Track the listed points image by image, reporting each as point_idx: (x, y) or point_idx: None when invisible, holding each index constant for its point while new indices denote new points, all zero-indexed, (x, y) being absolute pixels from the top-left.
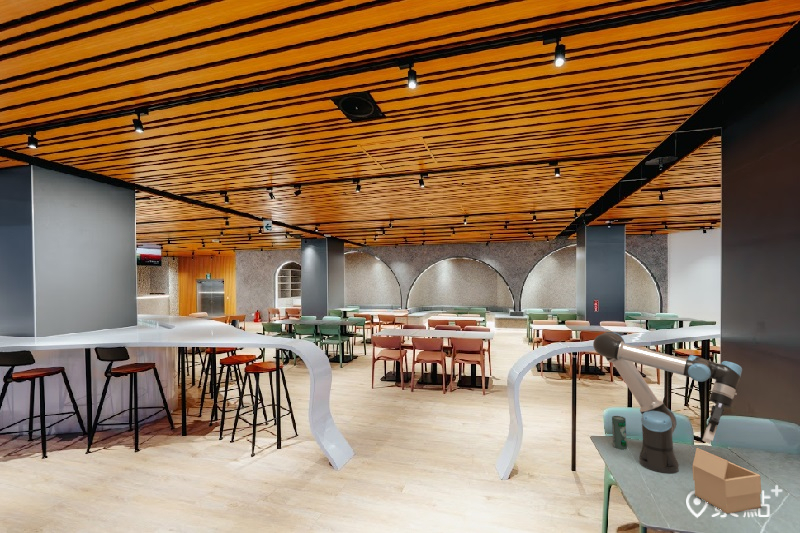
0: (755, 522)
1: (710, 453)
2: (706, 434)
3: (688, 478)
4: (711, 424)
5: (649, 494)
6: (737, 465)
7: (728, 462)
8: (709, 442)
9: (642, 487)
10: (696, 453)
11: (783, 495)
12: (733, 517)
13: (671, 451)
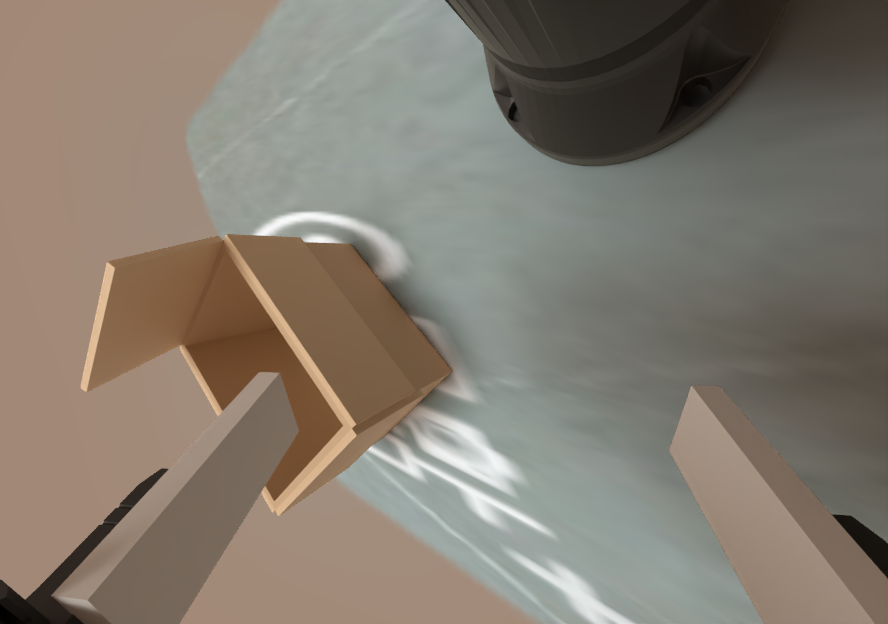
0: None
1: (93, 328)
2: (234, 406)
3: (502, 221)
4: (45, 580)
5: (286, 96)
6: (323, 467)
7: (338, 435)
8: (674, 455)
9: (316, 56)
10: (147, 257)
11: (531, 588)
12: None
13: (529, 79)
